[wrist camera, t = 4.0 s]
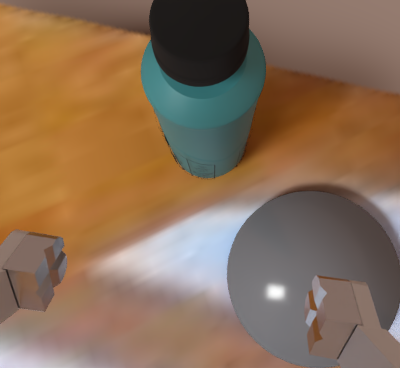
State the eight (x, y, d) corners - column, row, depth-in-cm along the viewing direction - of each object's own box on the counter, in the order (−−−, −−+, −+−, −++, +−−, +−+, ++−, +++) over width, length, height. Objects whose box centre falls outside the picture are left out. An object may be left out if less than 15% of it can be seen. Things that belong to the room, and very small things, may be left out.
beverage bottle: (259, 148, 33) (327, 8, 14) (206, 199, 33) (196, 129, 13) (209, 99, 34) (204, -98, 15) (156, 148, 34) (77, 10, 14)
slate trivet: (430, 286, 31) (438, 287, 30) (304, 401, 30) (308, 407, 29) (314, 160, 33) (318, 157, 32) (193, 263, 32) (192, 264, 31)
